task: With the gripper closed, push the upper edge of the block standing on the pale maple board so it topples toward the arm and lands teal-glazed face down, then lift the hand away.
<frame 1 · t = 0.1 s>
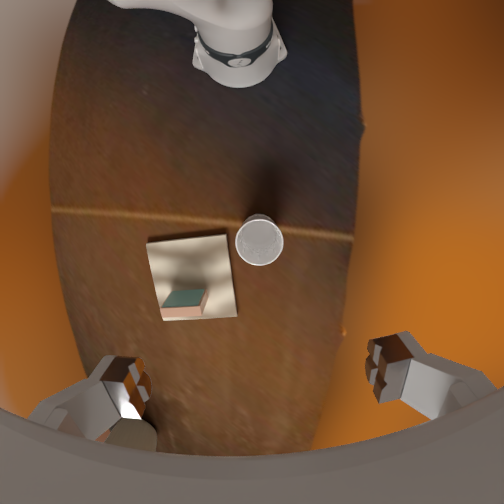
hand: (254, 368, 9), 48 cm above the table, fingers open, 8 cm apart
canister: (139, 426, 75), on the table
block: (189, 294, 60), point 1 cm above the table, touching board
white cup: (258, 230, 57), on the table
board: (192, 279, 60), on the table
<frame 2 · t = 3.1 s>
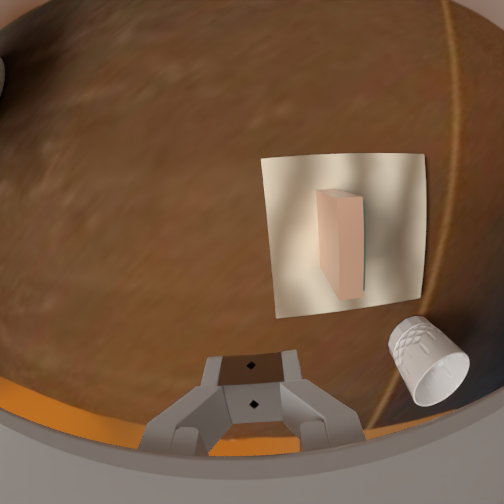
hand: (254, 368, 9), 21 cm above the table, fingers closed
block: (327, 229, 28), point 1 cm above the table, touching board
white cup: (408, 335, 33), on the table
board: (352, 233, 29), on the table
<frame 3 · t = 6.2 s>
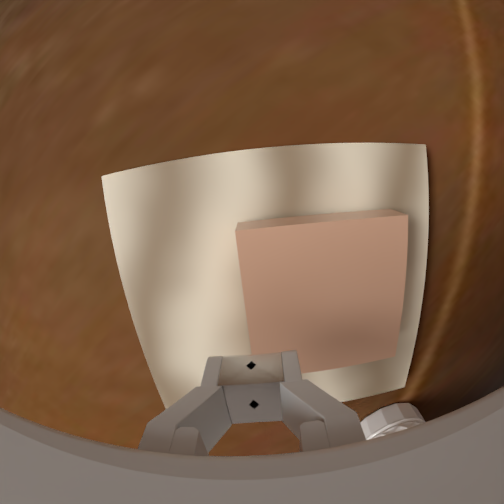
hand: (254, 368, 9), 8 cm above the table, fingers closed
block: (246, 305, 14), point 2 cm above the table, tilted 90°, touching board
white cup: (384, 424, 21), on the table
board: (280, 298, 17), on the table
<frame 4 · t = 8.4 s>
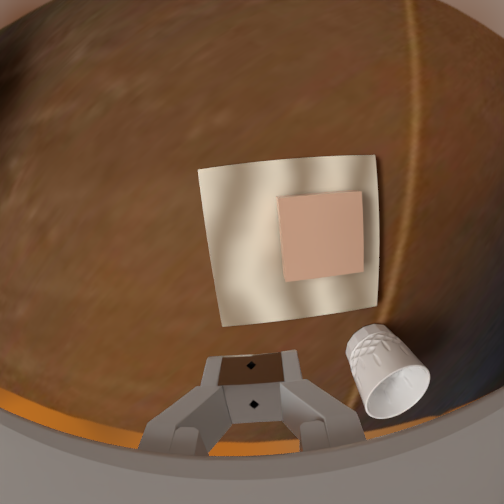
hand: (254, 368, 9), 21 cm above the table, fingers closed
block: (280, 239, 27), point 2 cm above the table, tilted 90°, touching board
white cup: (368, 344, 34), on the table
board: (296, 241, 30), on the table
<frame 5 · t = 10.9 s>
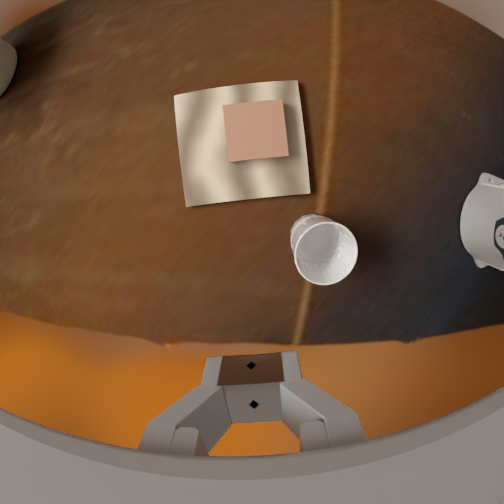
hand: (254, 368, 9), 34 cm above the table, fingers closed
canister: (3, 74, 33), on the table
block: (226, 134, 36), point 2 cm above the table, tilted 90°, touching board
white cup: (311, 235, 43), on the table
board: (241, 141, 39), on the table
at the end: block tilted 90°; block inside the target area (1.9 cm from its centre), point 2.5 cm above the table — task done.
